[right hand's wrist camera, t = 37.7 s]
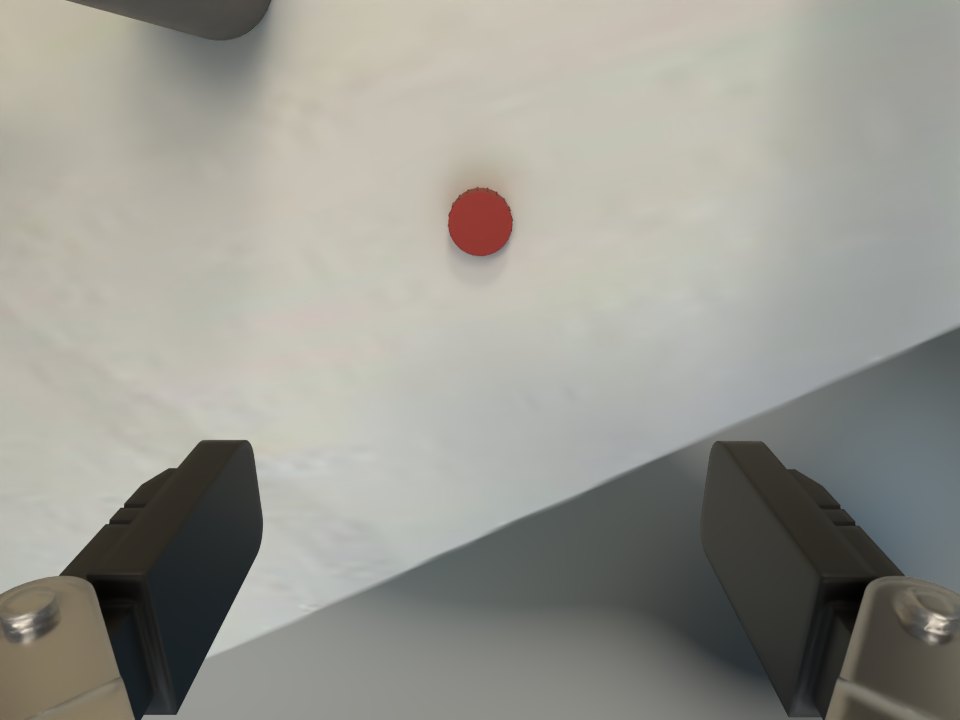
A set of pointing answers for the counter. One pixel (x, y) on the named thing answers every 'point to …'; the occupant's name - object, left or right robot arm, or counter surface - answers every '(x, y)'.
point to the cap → (480, 222)
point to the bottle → (191, 14)
